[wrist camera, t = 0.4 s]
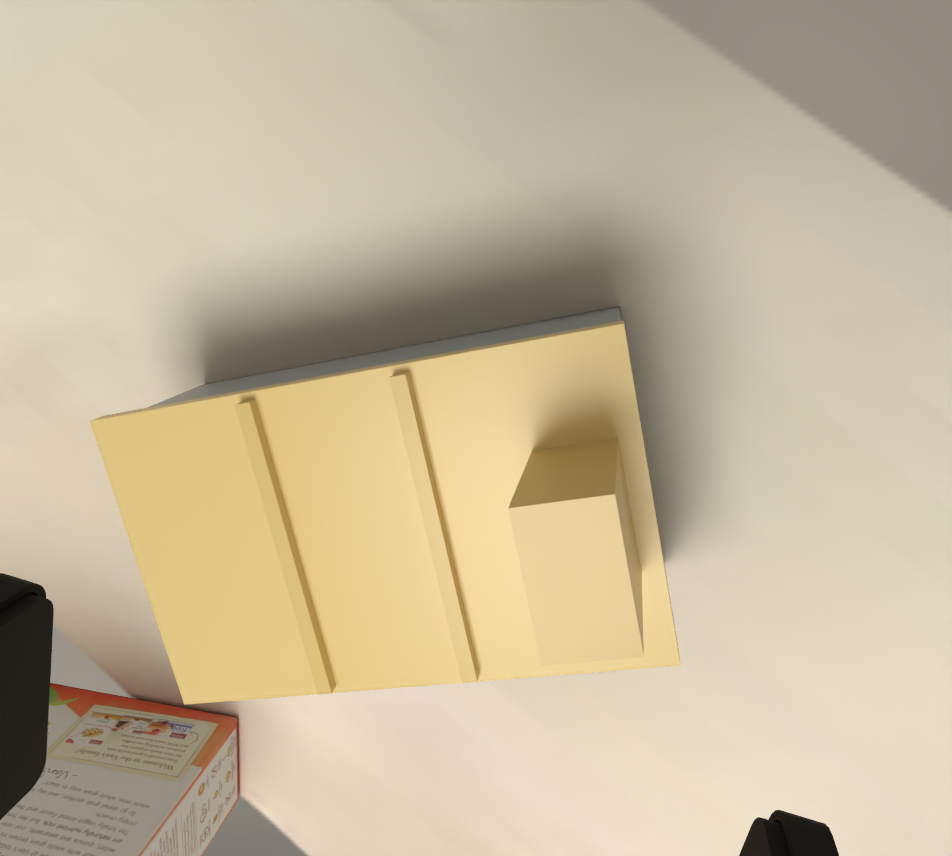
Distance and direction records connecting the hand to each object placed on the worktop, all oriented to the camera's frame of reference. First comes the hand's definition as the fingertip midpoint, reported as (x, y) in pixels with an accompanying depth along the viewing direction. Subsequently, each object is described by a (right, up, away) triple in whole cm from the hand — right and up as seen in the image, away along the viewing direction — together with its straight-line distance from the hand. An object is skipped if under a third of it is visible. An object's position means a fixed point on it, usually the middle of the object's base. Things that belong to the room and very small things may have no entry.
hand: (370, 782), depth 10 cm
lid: (-2, +1, +20) cm, 20 cm away
